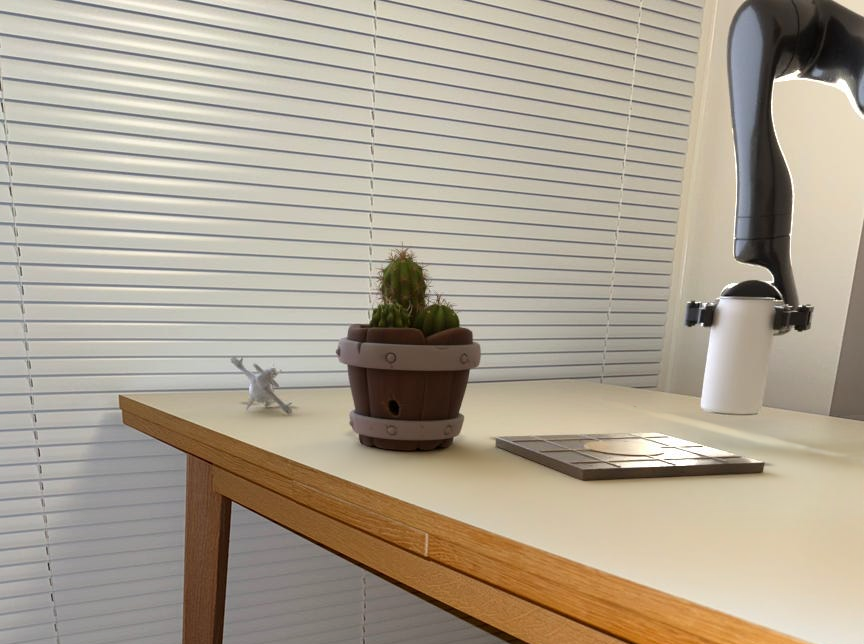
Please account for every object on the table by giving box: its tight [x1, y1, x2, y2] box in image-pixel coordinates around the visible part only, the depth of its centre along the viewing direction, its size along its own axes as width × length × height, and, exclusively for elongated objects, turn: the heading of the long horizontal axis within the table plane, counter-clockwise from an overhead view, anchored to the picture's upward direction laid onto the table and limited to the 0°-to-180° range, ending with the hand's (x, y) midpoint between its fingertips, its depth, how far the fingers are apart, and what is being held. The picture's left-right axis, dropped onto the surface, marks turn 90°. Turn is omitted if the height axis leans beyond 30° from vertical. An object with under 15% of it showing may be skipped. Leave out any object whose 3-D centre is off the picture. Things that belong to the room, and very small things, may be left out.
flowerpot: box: [335, 242, 482, 451], centre depth 98 cm, size 14×15×20 cm
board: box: [494, 432, 765, 481], centre depth 97 cm, size 20×18×1 cm
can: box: [700, 296, 776, 416], centre depth 105 cm, size 6×6×12 cm
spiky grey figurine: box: [230, 355, 294, 415], centre depth 121 cm, size 10×6×9 cm
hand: (743, 317), depth 101 cm, fingers closed on can, 6 cm apart
